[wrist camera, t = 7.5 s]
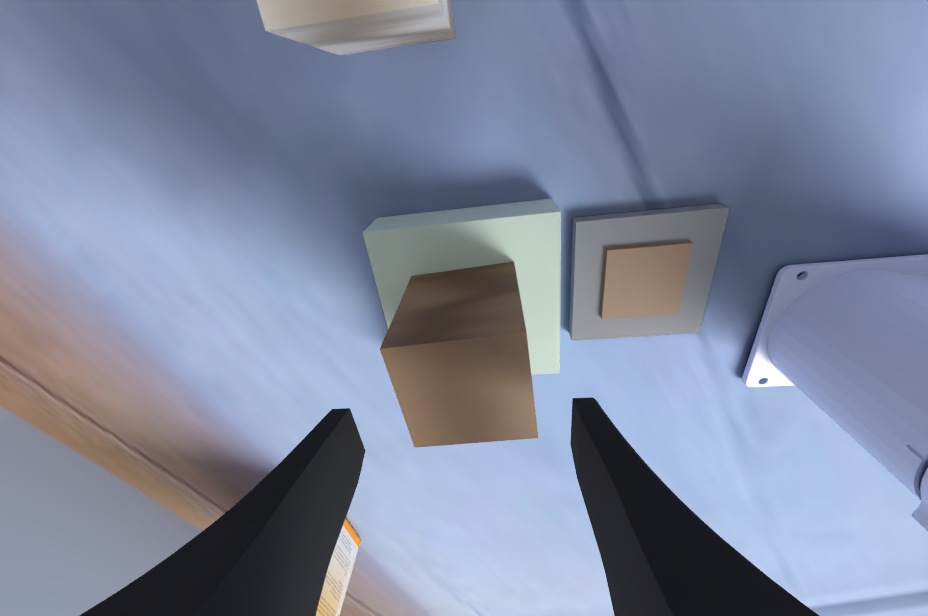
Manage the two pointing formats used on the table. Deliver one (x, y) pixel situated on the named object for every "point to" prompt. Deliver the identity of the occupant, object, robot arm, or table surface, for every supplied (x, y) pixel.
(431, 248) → the green block
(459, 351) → the walnut block
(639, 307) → the tile
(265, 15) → the ash block
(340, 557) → the supplement box
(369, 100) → the table surface
